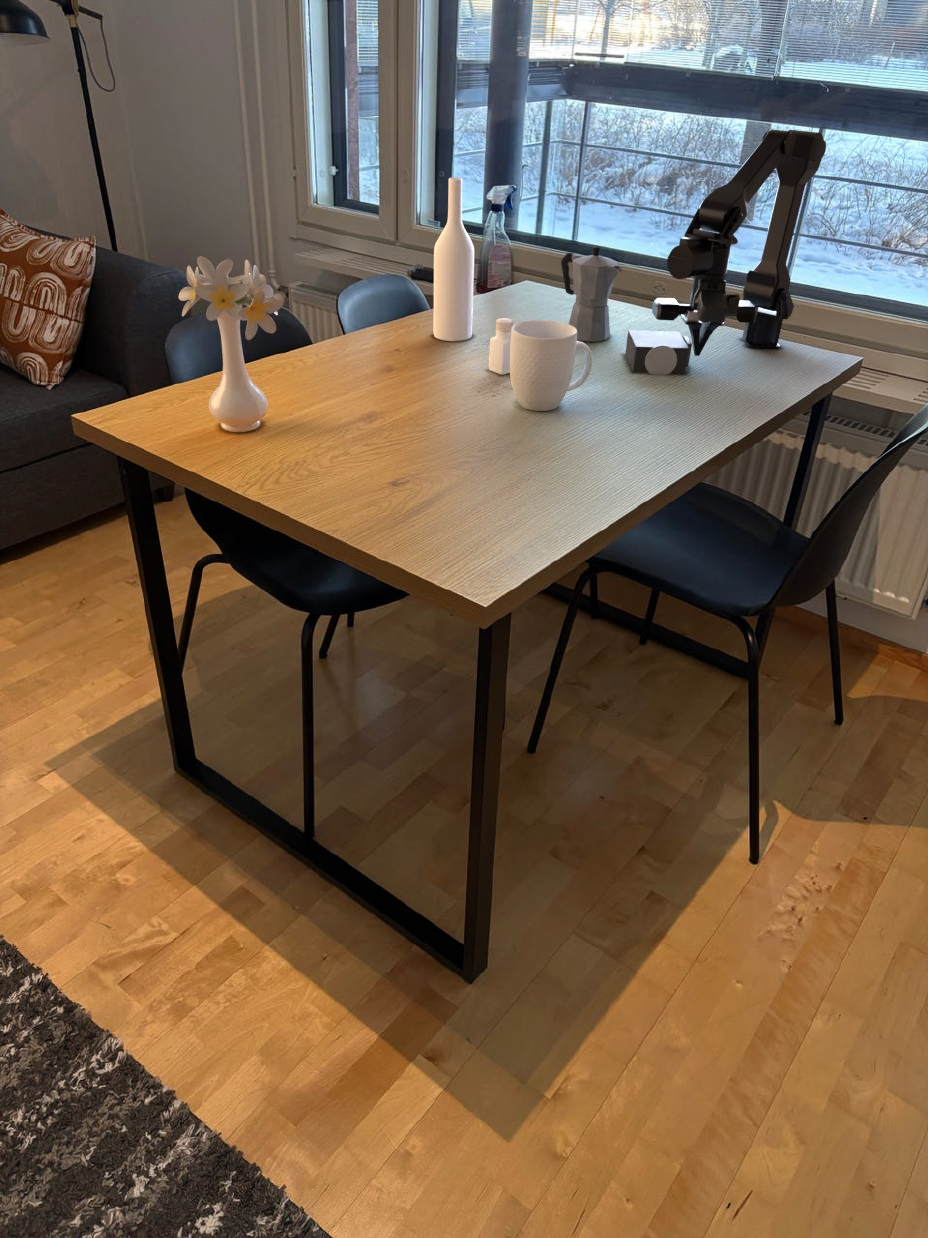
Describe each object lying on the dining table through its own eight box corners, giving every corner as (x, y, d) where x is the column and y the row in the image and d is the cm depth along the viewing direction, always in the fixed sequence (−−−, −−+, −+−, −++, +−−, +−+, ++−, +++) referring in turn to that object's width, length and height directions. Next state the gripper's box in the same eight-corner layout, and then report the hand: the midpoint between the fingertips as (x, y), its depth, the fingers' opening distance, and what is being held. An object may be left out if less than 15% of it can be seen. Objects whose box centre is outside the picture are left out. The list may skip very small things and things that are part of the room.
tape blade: (683, 359, 179) (687, 335, 177) (688, 367, 175) (692, 343, 173) (634, 357, 179) (637, 334, 177) (638, 365, 175) (641, 342, 173)
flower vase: (255, 452, 137) (237, 281, 123) (175, 423, 146) (149, 260, 132) (315, 427, 146) (304, 265, 132) (236, 401, 155) (218, 246, 141)
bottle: (425, 336, 189) (426, 178, 172) (448, 328, 195) (450, 173, 178) (457, 343, 185) (460, 182, 169) (479, 335, 191) (484, 178, 174)
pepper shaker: (501, 376, 169) (504, 324, 164) (487, 370, 172) (489, 319, 167) (517, 371, 172) (520, 321, 166) (502, 366, 174) (505, 316, 169)
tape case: (674, 358, 182) (679, 328, 179) (684, 377, 173) (690, 345, 170) (624, 357, 182) (628, 327, 179) (632, 375, 173) (636, 344, 170)
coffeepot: (626, 338, 192) (637, 248, 182) (598, 347, 186) (608, 254, 176) (570, 322, 201) (578, 235, 191) (542, 330, 195) (548, 241, 185)
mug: (573, 389, 164) (580, 316, 157) (601, 410, 156) (610, 333, 149) (497, 397, 160) (501, 322, 153) (522, 419, 151) (527, 340, 144)
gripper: (668, 280, 161) (655, 367, 170) (772, 283, 161) (754, 369, 170) (657, 266, 170) (646, 349, 179) (756, 269, 170) (740, 351, 179)
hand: (696, 355), depth 176 cm, fingers closed
